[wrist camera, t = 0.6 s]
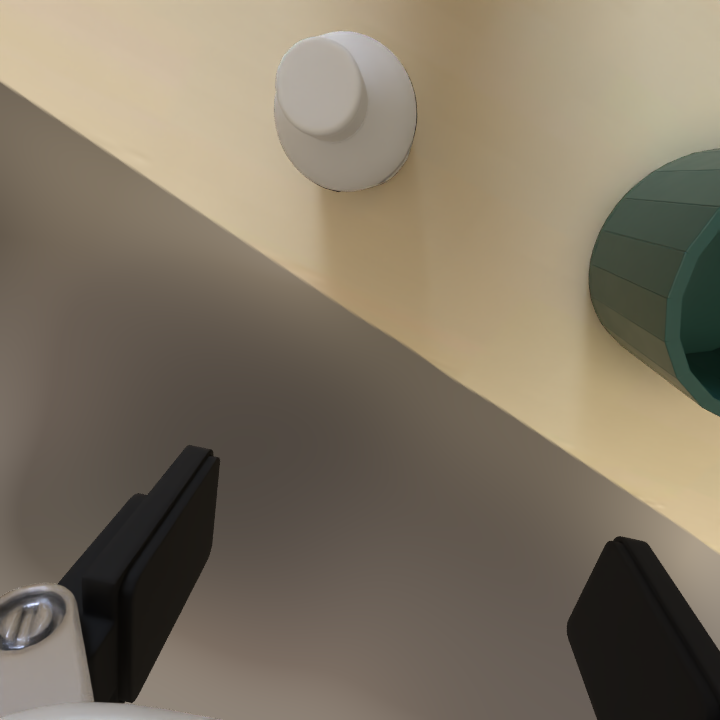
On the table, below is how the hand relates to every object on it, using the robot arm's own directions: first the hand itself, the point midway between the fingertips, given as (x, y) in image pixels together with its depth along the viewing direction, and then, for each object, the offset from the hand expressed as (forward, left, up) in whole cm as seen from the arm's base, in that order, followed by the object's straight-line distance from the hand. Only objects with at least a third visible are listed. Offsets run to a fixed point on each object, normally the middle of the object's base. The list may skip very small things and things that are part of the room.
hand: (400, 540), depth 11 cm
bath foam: (-10, -5, -29) cm, 31 cm away
